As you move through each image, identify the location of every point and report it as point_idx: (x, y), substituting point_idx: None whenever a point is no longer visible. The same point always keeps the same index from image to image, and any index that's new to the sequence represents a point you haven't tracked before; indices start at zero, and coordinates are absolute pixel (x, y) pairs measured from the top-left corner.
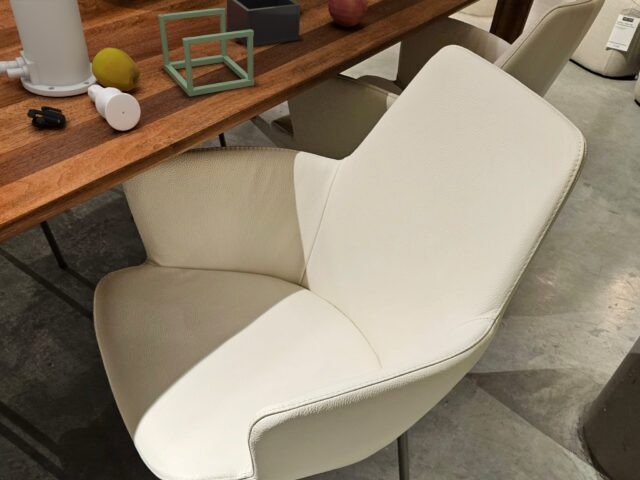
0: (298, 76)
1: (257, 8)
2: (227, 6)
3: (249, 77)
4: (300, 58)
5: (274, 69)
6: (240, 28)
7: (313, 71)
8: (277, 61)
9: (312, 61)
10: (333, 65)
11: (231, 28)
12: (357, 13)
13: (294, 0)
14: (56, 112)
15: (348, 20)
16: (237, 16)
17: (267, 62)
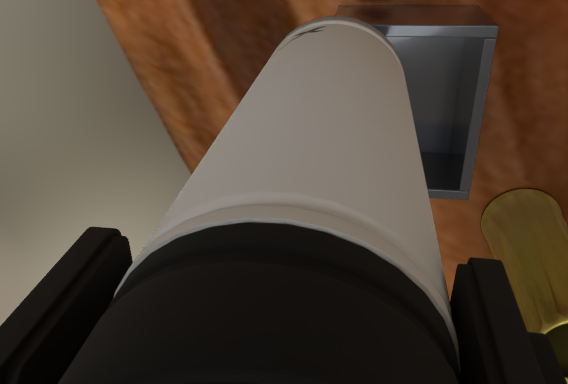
0: (139, 42)
1: (462, 115)
2: (486, 19)
3: None
4: (232, 99)
5: (188, 6)
6: (384, 11)
7: (157, 89)
8: (231, 37)
9: (209, 116)
10: (177, 146)
11: (450, 7)
12: None
13: (491, 244)
14: None
15: None
16: (406, 17)
17: (232, 10)
